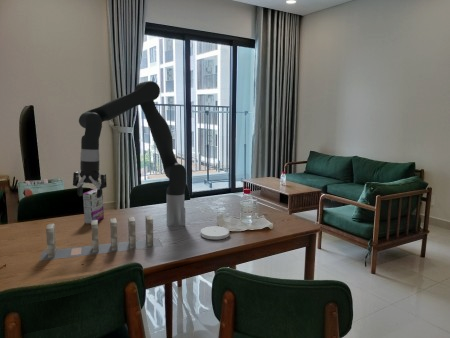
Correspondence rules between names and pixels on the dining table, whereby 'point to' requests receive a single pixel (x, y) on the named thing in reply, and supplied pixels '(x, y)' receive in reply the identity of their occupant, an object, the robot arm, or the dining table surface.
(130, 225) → the ivory domino
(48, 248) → the domino
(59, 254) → the domino board
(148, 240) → the ivory domino
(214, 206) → the dining table surface
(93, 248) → the ivory domino
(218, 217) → the dining table surface
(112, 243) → the ivory domino
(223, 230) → the plastic lid
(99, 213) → the candy bar box
